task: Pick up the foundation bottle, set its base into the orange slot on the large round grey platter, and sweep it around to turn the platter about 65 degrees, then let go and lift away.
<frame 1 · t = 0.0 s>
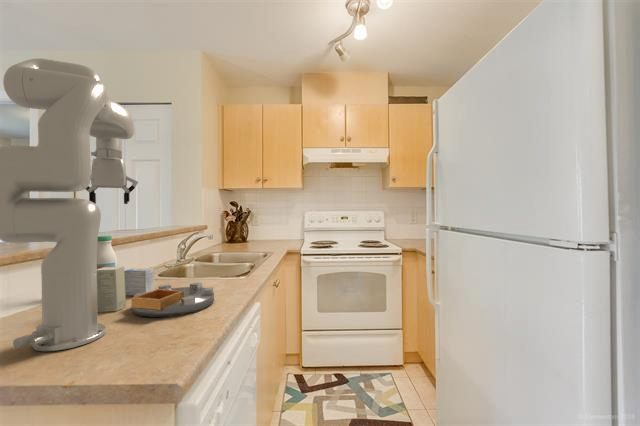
hand: (110, 203, 107), 31 cm above the worktop, tool pointing down, fingers open, 9 cm apart
milk bottle: (104, 293, 104), on the worktop
round grey platter: (175, 296, 90), point 3 cm above the worktop, hinge at 0.0°
medicine box: (139, 294, 103), on the worktop
skincare box: (110, 310, 87), on the worktop
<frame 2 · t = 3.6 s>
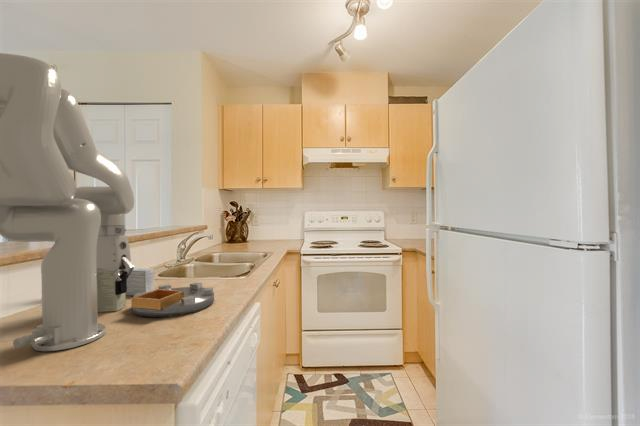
hand: (110, 292, 87), 5 cm above the worktop, tool pointing down, fingers closed on skincare box, 7 cm apart
skincare box: (110, 310, 87), on the worktop, touching gripper
everything else where it was.
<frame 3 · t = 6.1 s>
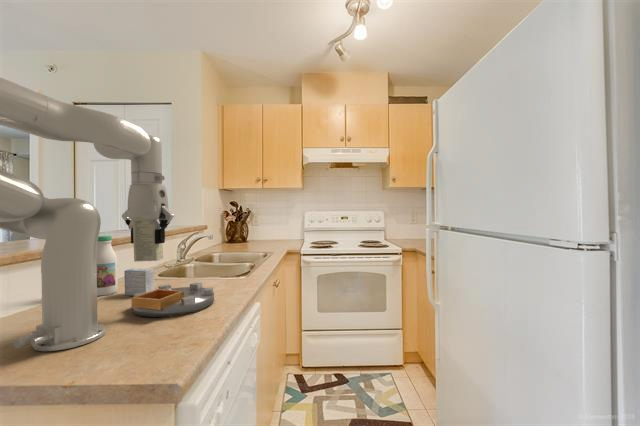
hand: (148, 242, 85), 20 cm above the worktop, tool pointing down, fingers closed on skincare box, 7 cm apart
skincare box: (148, 261, 85), point 14 cm above the worktop, touching gripper
everything else where it was.
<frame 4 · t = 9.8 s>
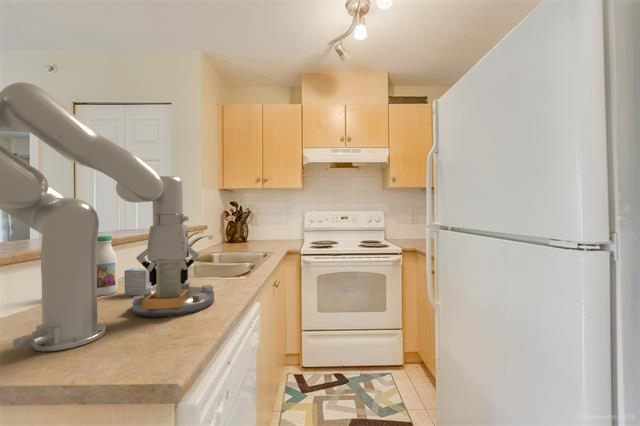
hand: (169, 283, 84), 8 cm above the worktop, tool pointing down, fingers closed on skincare box, 6 cm apart
round grey platter: (175, 296, 90), point 3 cm above the worktop, hinge at 22.3°, touching skincare box
skincare box: (168, 302, 84), point 3 cm above the worktop, touching gripper, round grey platter
everything else where it was.
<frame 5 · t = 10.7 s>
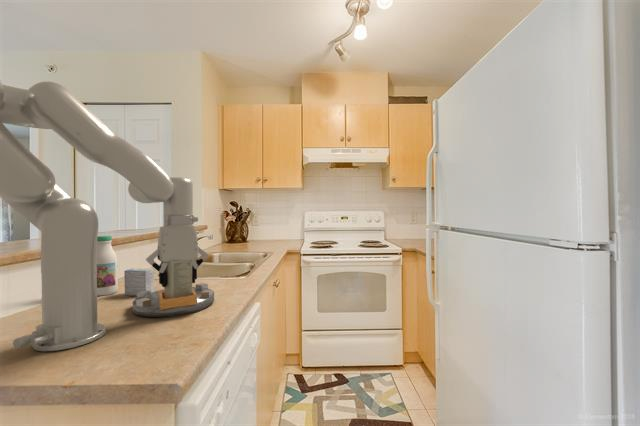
hand: (178, 283, 85), 8 cm above the worktop, tool pointing down, fingers closed on skincare box, 6 cm apart
round grey platter: (175, 296, 90), point 3 cm above the worktop, hinge at 44.9°, touching skincare box
skincare box: (178, 302, 85), point 3 cm above the worktop, touching gripper, round grey platter
everything else where it was.
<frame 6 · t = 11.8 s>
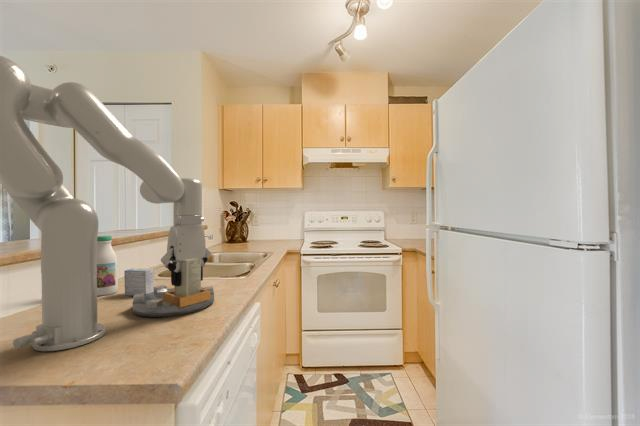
hand: (187, 282, 87), 8 cm above the worktop, tool pointing down, fingers closed on skincare box, 6 cm apart
round grey platter: (175, 296, 90), point 3 cm above the worktop, hinge at 68.2°, touching skincare box
skincare box: (187, 300, 87), point 3 cm above the worktop, touching gripper, round grey platter
everything else where it was.
when the fingers open (8 cm above the worktop, at t = 12.0 s): skincare box stays where it is, resting on round grey platter.
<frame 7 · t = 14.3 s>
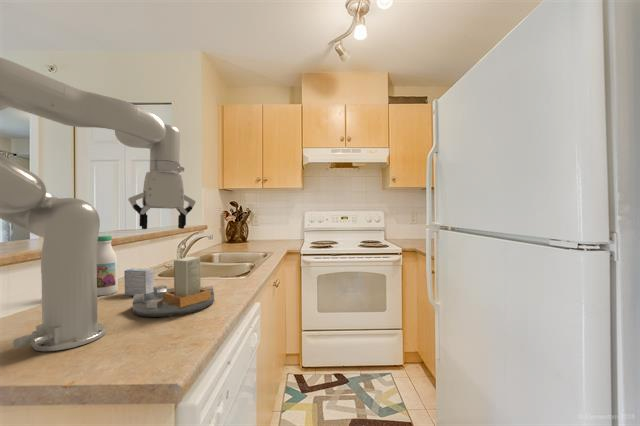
hand: (163, 228, 85), 24 cm above the worktop, tool pointing down, fingers open, 9 cm apart
skincare box: (187, 300, 87), point 2 cm above the worktop, touching round grey platter
everything else where it was.
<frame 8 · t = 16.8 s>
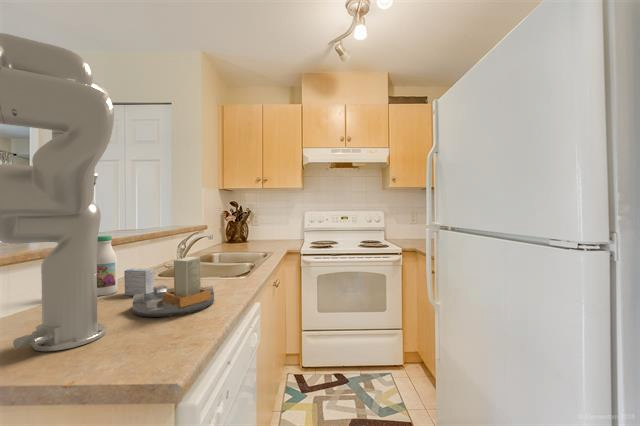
hand: (71, 205, 82), 30 cm above the worktop, tool pointing down, fingers open, 9 cm apart
nothing on the worktop moved.
at the end: round grey platter at +68° (first picture: +0°); skincare box 0.7 cm from the target spot on the round grey platter, point 2.5 cm above the round grey platter's base; skincare box tilted 0° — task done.
